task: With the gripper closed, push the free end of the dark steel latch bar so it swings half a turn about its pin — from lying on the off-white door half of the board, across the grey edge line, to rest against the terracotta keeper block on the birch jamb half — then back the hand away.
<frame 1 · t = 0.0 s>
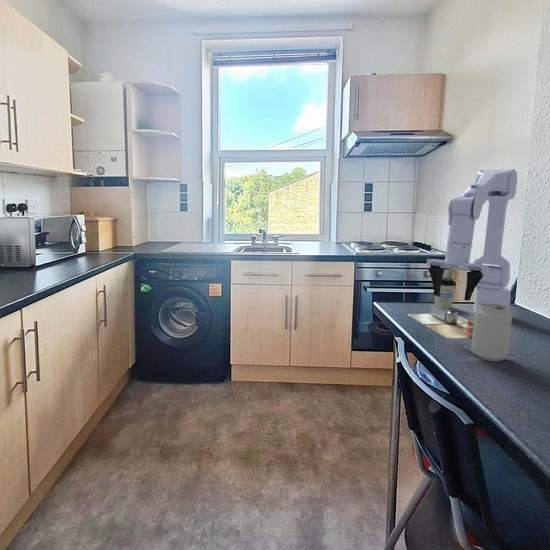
hand: (451, 298, 110), 11 cm above the table, tool pointing down, fingers open, 7 cm apart
can: (488, 357, 99), on the table
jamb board: (451, 326, 122), on the table
coffee cup: (442, 309, 141), on the table
latch: (444, 313, 125), point 3 cm above the table, hinge at 0.0°
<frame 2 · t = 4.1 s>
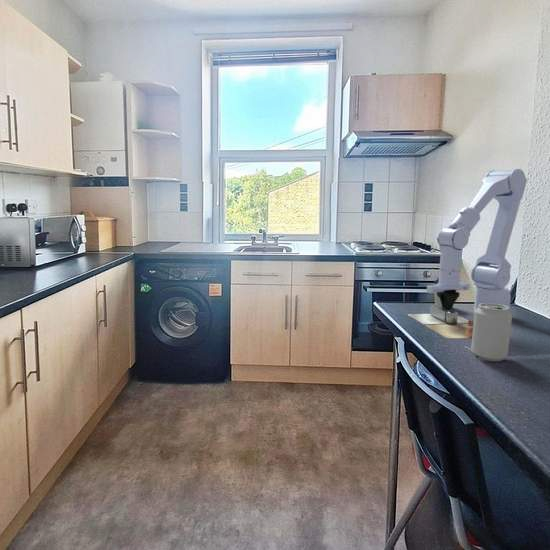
hand: (446, 315, 128), 2 cm above the table, tool pointing down, fingers closed, pressing on latch
latch: (443, 313, 125), point 3 cm above the table, hinge at 2.0°, touching gripper
everything else where it was.
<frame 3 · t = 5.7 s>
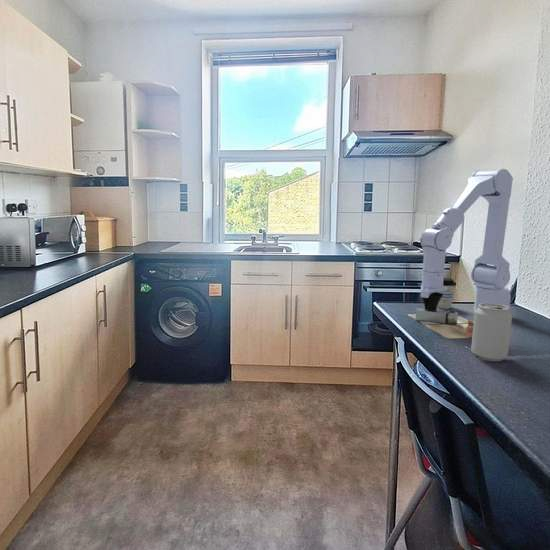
hand: (429, 317, 125), 2 cm above the table, tool pointing down, fingers closed, pressing on latch
latch: (436, 315, 123), point 3 cm above the table, hinge at 56.5°, touching gripper
everything else where it was.
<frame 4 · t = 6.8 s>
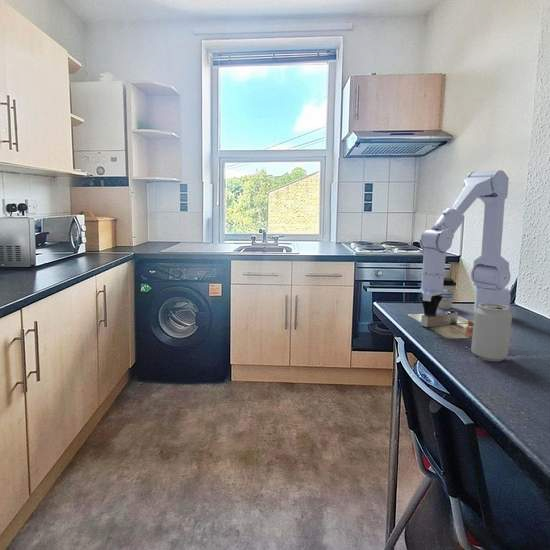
hand: (429, 320, 122), 1 cm above the table, tool pointing down, fingers closed, pressing on latch
latch: (440, 318, 120), point 3 cm above the table, hinge at 103.4°, touching gripper
everything else where it was.
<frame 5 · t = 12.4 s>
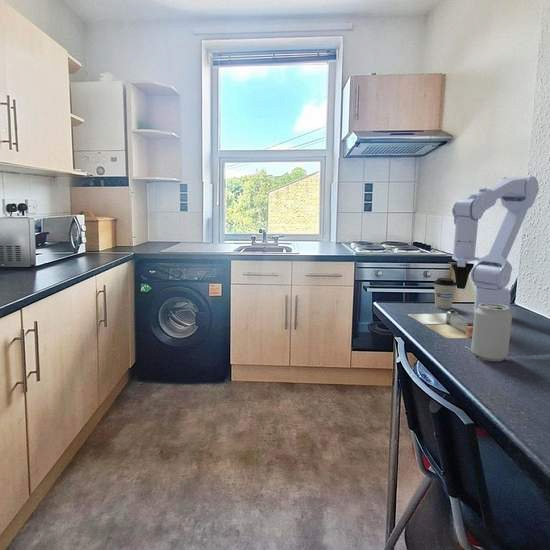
hand: (460, 288, 125), 10 cm above the table, tool pointing down, fingers closed
latch: (459, 321, 117), point 3 cm above the table, hinge at 179.9°
everything else where it was.
at the end: latch at +180° (first picture: +0°) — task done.
